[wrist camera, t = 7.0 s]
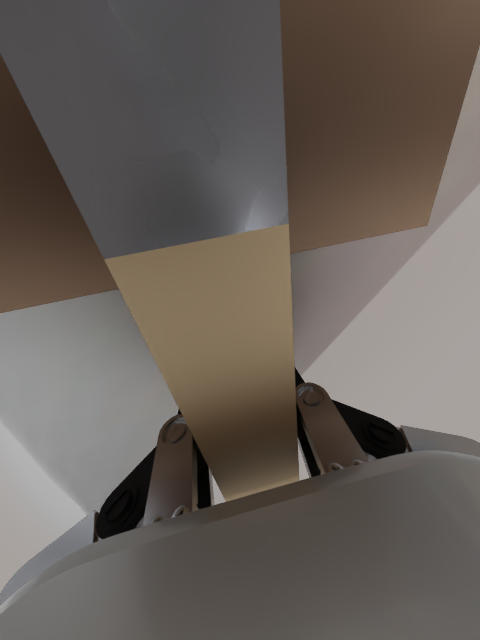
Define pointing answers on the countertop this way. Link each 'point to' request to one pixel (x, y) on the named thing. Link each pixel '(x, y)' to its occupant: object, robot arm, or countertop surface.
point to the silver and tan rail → (181, 198)
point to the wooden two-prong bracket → (300, 137)
